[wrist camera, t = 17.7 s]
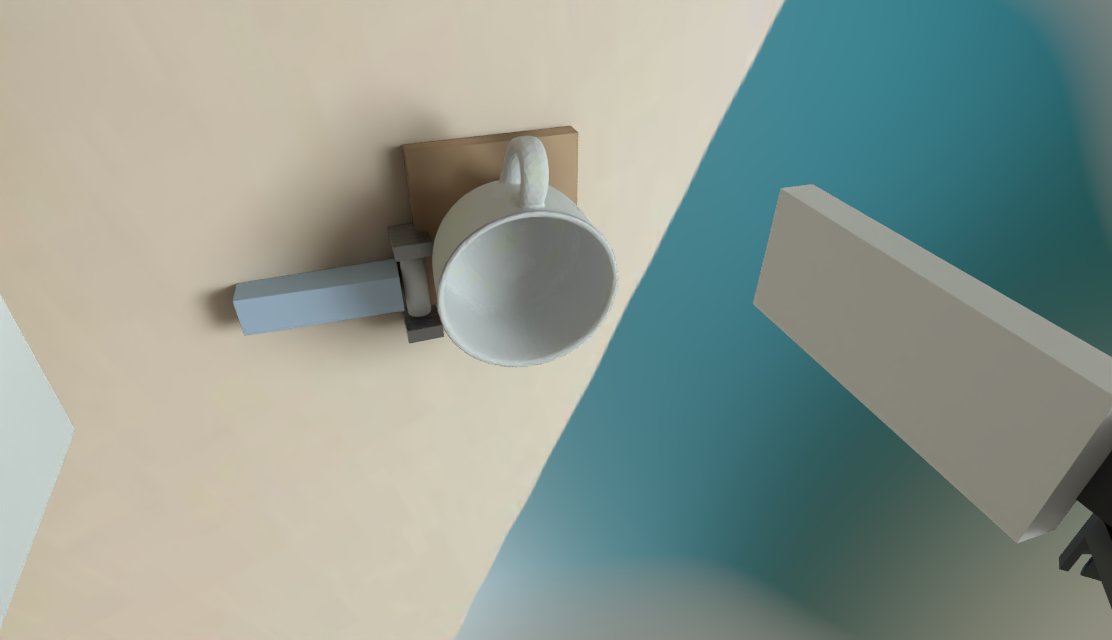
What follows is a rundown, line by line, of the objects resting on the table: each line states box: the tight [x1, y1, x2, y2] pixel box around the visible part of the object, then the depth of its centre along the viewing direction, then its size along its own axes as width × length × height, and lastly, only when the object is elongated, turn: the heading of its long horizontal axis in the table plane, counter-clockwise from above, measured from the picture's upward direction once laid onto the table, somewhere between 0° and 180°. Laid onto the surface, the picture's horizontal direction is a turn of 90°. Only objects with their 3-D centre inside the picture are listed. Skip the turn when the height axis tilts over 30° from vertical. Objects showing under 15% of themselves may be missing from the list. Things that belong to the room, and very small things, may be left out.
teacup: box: [432, 136, 618, 367], centre depth 39 cm, size 14×11×8 cm
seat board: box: [402, 126, 578, 305], centre depth 43 cm, size 11×11×1 cm
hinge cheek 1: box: [388, 223, 433, 262], centre depth 41 cm, size 2×1×3 cm, turn 90°
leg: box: [233, 257, 431, 336], centre depth 42 cm, size 12×5×3 cm, turn 90°
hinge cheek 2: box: [402, 305, 444, 343], centre depth 45 cm, size 2×1×3 cm, turn 90°
